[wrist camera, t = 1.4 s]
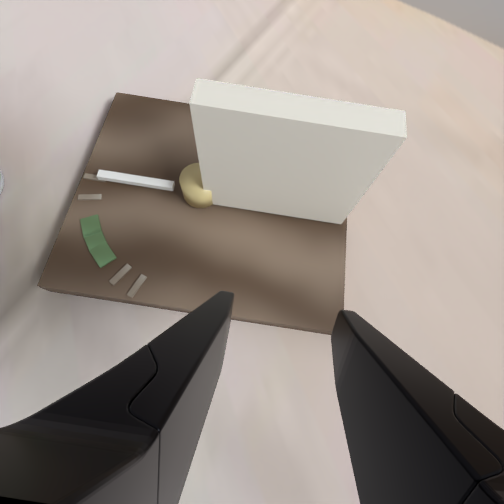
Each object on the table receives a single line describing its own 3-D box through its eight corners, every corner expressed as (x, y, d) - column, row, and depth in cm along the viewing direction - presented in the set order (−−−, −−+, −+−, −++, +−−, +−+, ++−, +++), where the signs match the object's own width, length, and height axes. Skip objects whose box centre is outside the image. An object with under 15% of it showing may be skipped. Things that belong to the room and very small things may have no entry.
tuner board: (335, 335, 21) (343, 333, 20) (50, 291, 21) (35, 285, 20) (344, 141, 27) (350, 127, 26) (122, 106, 27) (116, 90, 26)
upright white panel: (341, 230, 22) (407, 146, 14) (94, 191, 22) (9, 83, 14) (342, 199, 23) (404, 103, 15) (105, 162, 23) (33, 44, 15)
